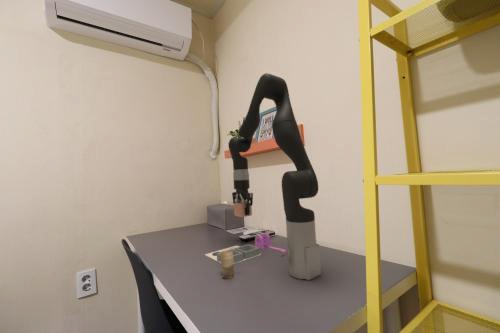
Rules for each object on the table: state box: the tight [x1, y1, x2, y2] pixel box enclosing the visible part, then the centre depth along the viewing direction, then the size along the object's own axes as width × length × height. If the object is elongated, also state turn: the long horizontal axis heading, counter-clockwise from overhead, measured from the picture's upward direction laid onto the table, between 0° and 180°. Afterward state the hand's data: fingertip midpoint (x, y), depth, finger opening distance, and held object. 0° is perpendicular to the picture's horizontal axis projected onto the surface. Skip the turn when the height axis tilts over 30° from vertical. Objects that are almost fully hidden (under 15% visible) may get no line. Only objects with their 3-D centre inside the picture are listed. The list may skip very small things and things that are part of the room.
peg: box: [220, 250, 235, 281], centre depth 76 cm, size 4×4×8 cm
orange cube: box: [233, 201, 253, 218], centre depth 111 cm, size 6×6×6 cm
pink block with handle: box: [254, 232, 286, 257], centre depth 97 cm, size 13×6×7 cm, turn 47°
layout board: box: [204, 243, 262, 265], centre depth 93 cm, size 17×16×4 cm
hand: (243, 214), depth 111 cm, fingers closed on orange cube, 6 cm apart
